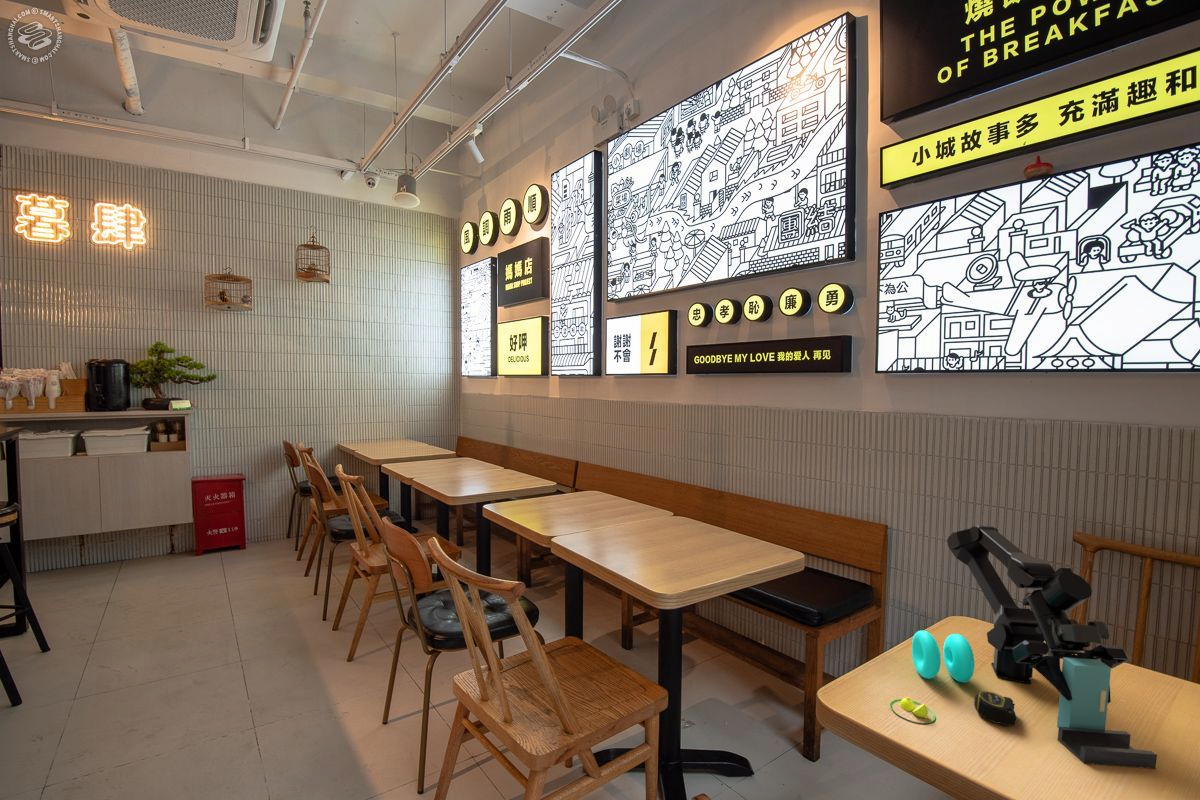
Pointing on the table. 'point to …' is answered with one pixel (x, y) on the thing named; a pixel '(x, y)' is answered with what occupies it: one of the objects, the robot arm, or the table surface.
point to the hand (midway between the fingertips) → (1089, 701)
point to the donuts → (954, 655)
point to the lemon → (909, 706)
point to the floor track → (1105, 747)
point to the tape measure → (995, 707)
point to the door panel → (1084, 694)
